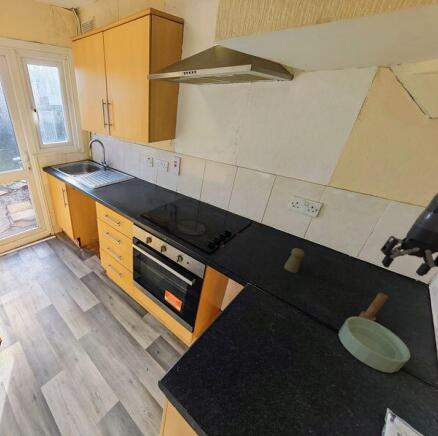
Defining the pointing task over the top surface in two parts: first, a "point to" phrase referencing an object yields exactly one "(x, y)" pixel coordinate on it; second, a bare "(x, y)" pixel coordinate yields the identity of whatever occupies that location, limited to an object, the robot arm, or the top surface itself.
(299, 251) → the cork
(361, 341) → the bowl
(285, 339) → the top surface
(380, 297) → the muddler
